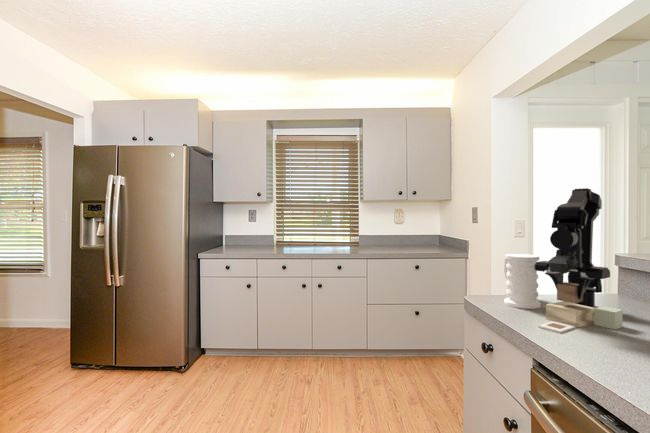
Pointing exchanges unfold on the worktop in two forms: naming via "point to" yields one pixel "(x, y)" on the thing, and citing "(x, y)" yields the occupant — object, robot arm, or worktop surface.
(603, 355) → the worktop surface
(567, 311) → the birch plinth
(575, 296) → the walnut cube
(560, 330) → the card
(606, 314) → the sage cube
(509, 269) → the decorative container
